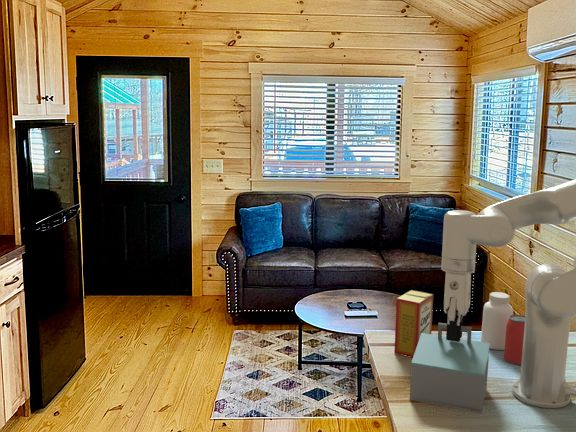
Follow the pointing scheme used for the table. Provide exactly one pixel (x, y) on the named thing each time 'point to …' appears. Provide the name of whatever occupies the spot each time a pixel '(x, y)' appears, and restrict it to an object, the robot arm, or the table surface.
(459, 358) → the lid
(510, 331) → the beer can
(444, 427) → the table surface
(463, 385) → the carton
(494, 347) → the pill bottle
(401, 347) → the baking soda box
